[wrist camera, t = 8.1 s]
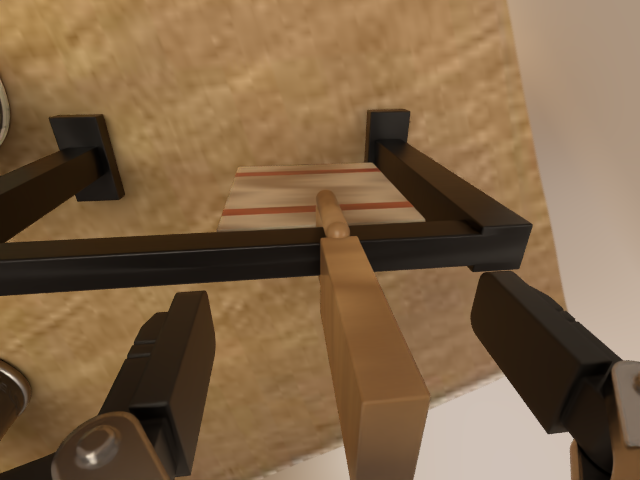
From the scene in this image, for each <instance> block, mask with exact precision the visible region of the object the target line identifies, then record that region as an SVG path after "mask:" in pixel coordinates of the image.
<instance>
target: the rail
mask: <svg viewBox="0 0 640 480" xmlns="http://www.w3.org/2000/svg"><path fill="white" fill-rule="evenodd" d="M409 119H410V111H408V110H405V109H390V110H368V111H367V126H366V143H365V161H364V163H373V164H374V165H375V166H376V167H377V168H378V169H379V170H380V171H381V172H382V173H383V174H384V176H385V177H386V178H387V179H388V180H389V181H390V182H391V183H392V184H393V185H394V186H395V187H396V188H397V190H398V191H399V192H400V193H401V194H402V195H403V196H404V197H405V198H406V199H407V200H408V201H409V202H410V203H411V204H412V205H413V206H414V208H415V209H416V210H417V211H418V212H419V213H420V214H421V215H422V216H423V217H424V219H425V221H426V222H409V223H390V224H370V225H350V226H349V229H350V236H357V237H358V239H359V241H360V243H361V246H362V248H363V250H364V252H365V254H366V256H367V259H368V261H369V263H370V265H371V267H372V269H373V272H380V271H395V270H411V269H426V268H442V267H458V266H467V267H468V268H469V269H470V270H471V271H472V272H483V271H498V270H513V269H519V268H520V265H521V262H522V258H523V255H524V252H525V249H526V246H527V242H528V239H529V236H530V233H531V229H532V226H533V225H532V224H531V223H530V222H528V221H527V220H525V219H524V218H522V217H521V216H519V215H518V214H516V213H514V212H513V211H511V210H510V209H508V208H507V207H505V206H504V205H502V204H500V203H499V202H497V201H496V200H494V199H493V198H491V197H490V196H488V195H487V194H485V193H483V192H482V191H480V190H479V189H477V188H476V187H474V186H473V185H471V184H470V183H468V182H466V181H465V180H463V179H462V178H460V177H459V176H457V175H456V174H454V173H452V172H451V171H449V170H448V169H446V168H445V167H443V166H442V165H440V164H439V163H437V162H435V161H434V160H432V159H431V158H429V157H428V156H426V155H425V154H423V153H422V152H420V151H418V150H417V149H415V148H414V147H412V146H411V145H409V144H408V143H407V137H408V128H409ZM49 121H50V123H51V126H52V129H53V132H54V135H55V138H56V141H57V144H58V147H59V150H60V151H58V152H56V153H53V154H51V155H49V156H46V157H44V158H42V159H39V160H37V161H35V162H32V163H30V164H28V165H25V166H23V167H21V168H18V169H16V170H14V171H12V172H9V173H7V174H5V175H2V176H0V296H7V295H23V294H38V293H54V292H69V291H85V290H100V289H116V288H131V287H147V286H162V285H178V284H193V283H209V282H224V281H240V280H256V279H271V278H287V277H302V276H318V275H320V240H321V238H326V235H325V232H324V228H323V227H310V228H291V229H271V230H251V231H231V232H211V233H191V234H172V235H152V236H132V237H112V238H92V239H73V240H53V241H33V242H13V243H5V242H6V241H8V240H9V239H11V238H12V237H14V236H15V235H17V234H18V233H19V232H21V231H22V230H24V229H25V228H27V227H28V226H30V225H31V224H33V223H34V222H36V221H37V220H39V219H40V218H41V217H43V216H44V215H46V214H47V213H49V212H50V211H52V210H53V209H55V208H56V207H58V206H59V205H61V204H62V203H63V202H65V201H66V200H68V199H69V198H71V197H72V196H74V195H75V196H76V199H77V201H78V202H80V201H105V200H120V199H121V198H122V197H123V196H124V195H125V193H124V189H123V186H122V182H121V178H120V175H119V171H118V167H117V164H116V160H115V156H114V153H113V149H112V146H111V142H110V138H109V135H108V131H107V127H106V124H105V120H104V116H103V115H102V114H95V115H57V116H53V117H49Z"/></svg>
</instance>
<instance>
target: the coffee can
mask: <svg viewBox="0 0 640 480" xmlns="http://www.w3.org/2000/svg"><path fill="white" fill-rule="evenodd" d="M9 122H10V107H9V103H8V99H7V95H6V92H5V89H4V86H3V84H2V81H1V79H0V145H1V144H2V142H3V141H4V139H5V137H6V135H7V132H8V128H9Z"/></svg>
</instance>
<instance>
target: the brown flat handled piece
mask: <svg viewBox="0 0 640 480" xmlns="http://www.w3.org/2000/svg"><path fill="white" fill-rule="evenodd" d="M409 222H425V219H424V217H423V216H422V215H421V214H420V213H419V212H418V211H417V210H416V209H415V208H414V206H413V205H412V204H411V203H410V202H409V201H408V200H407V199H406V198H405V197H404V196H403V195H402V194H401V193H400V192H399V191H398V190H397V188H396V187H395V186H394V185H393V184H392V183H391V182H390V181H389V180H388V179H387V178H386V177H385V176H384V174H383V173H382V172H381V171H380V170H379V169H378V168H377V167H376V166H375V165H374V164H373V163H344V164H313V165H283V166H252V167H238V169H237V172H236V175H235V178H234V181H233V184H232V187H231V190H230V193H229V196H228V199H227V202H226V204H225V207H224V210H223V213H222V216H221V219H220V222H219V225H218V228H217V232H231V231H251V230H271V229H291V228H310V227H323V228H324V232H325V235H326V238H321V240H320V275H318V276H319V281H320V313H321V318H322V324H323V330H324V335H325V341H326V346H327V352H328V358H329V363H330V369H331V375H332V380H333V386H334V391H335V397H336V403H337V408H338V414H339V420H340V425H341V431H342V436H343V442H344V448H345V453H346V459H347V464H348V470H349V476H350V480H413V478H414V474H415V469H416V464H417V460H418V455H419V450H420V446H421V441H422V435H423V431H424V427H425V422H426V418H427V413H428V408H429V404H430V399H431V396H430V393H429V391H428V389H427V387H426V385H425V382H424V380H423V378H422V376H421V374H420V372H419V369H418V367H417V365H416V363H415V361H414V359H413V356H412V354H411V352H410V350H409V348H408V345H407V343H406V341H405V339H404V337H403V335H402V332H401V330H400V328H399V326H398V324H397V322H396V319H395V317H394V315H393V313H392V311H391V309H390V306H389V304H388V302H387V300H386V298H385V295H384V293H383V291H382V289H381V287H380V285H379V282H378V280H377V278H376V276H375V274H374V272H373V269H372V267H371V265H370V263H369V261H368V259H367V256H366V254H365V252H364V250H363V248H362V246H361V243H360V241H359V239H358V237H357V236H350V229H349V226H350V225H370V224H390V223H409Z"/></svg>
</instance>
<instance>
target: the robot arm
mask: <svg viewBox="0 0 640 480" xmlns="http://www.w3.org/2000/svg"><path fill="white" fill-rule="evenodd" d="M471 325H472V328H473V331H474V333H475V334H476V336H477V337H478V339H479V340H480V341H481V343H482V344H483V345H484V347H485V348H486V350H487V351H488V352H489V354H490V355H491V357H492V358H493V359H494V361H495V362H496V363H497V365H498V366H499V368H500V369H501V370H502V372H503V373H504V374H505V376H506V377H507V379H508V380H509V381H510V383H511V384H512V385H513V387H514V388H515V389H516V391H517V392H518V394H519V395H520V396H521V398H522V399H523V401H524V402H525V403H526V405H527V406H528V407H529V409H530V410H531V412H532V413H533V414H534V416H535V417H536V418H537V420H538V421H539V423H540V424H541V425H542V427H543V428H544V429H545V431H546V432H547V434H554V433H562V432H569V433H570V434H571V435H572V437H573V438H574V439H573V441H572V443H571V446H570V464H571V480H640V362H637V361H629V360H628V361H627V360H626V361H623V360H622V359H621V358H620V357H618V356H617V355H616V354H615V353H614V352H613V351H611V350H610V349H609V348H608V347H607V346H606V345H605V344H604V343H602V342H601V341H600V340H599V339H598V338H597V337H595V336H594V335H593V334H592V333H591V332H590V331H589V330H587V329H586V328H585V327H584V326H583V325H582V324H580V323H579V322H576V321H575V318H573V317H572V316H571V315H570V314H569V313H568V312H567V311H563V308H562V307H561V306H560V305H559V304H557V303H556V302H555V301H554V300H553V299H552V298H551V297H549V296H548V295H546V294H544V293H542V292H540V291H539V290H537V289H535V288H533V287H531V286H529V285H528V284H526V283H525V282H524V281H523V280H522V279H521V278H520V277H519V276H518V275H516V274H515V273H514V272H512V271H496V272H485V273H483V274H482V275H481V276H480V279H479V282H478V286H477V290H476V294H475V298H474V302H473V306H472V310H471ZM214 356H215V332H214V326H213V321H212V315H211V310H210V305H209V299H208V295H207V292H206V291H192V292H178V293H176V294H175V296H174V299H173V301H172V304H171V306H170V308H169V311H168V312H159V313H156V314H154V315H153V316H152V317H151V318H150V319H149V320H148V321H147V322H146V323H145V324H144V325H143V326H142V327H141V329H140V331H139V333H138V335H137V337H136V339H135V341H134V345H132V347H131V349H130V351H129V353H128V355H127V359H125V361H124V363H123V365H122V367H121V369H120V371H119V373H118V375H117V377H116V379H115V381H114V383H113V385H112V387H111V389H110V392H109V394H108V396H107V398H106V400H105V402H104V404H103V406H102V408H101V410H100V412H99V414H98V415H97V416H95V417H93V418H91V419H89V420H88V421H86V422H84V423H83V424H81V425H80V426H79V427H77V428H76V429H75V430H73V431H72V432H71V433H70V434H69V435H68V436H67V437H66V438H65V440H64V441H63V442H62V443H61V445H60V446H59V448H58V449H57V451H56V452H55V453H52V454H50V455H48V456H45V457H43V458H40V459H38V460H35V461H32V462H30V463H27V464H24V465H22V466H19V467H16V468H14V469H11V470H8V471H6V472H3V473H0V480H174V478H175V477H180V476H189V475H191V471H192V466H193V461H194V456H195V451H196V446H197V441H198V436H199V431H200V426H201V421H202V416H203V411H204V406H205V401H206V396H207V391H208V386H209V381H210V376H211V371H212V366H213V361H214ZM30 399H31V388H30V385H29V383H28V382H27V380H26V379H25V377H24V376H23V375H22V374H21V373H20V372H19V371H17V370H16V369H15V368H14V367H12V366H10V365H9V364H7V363H5V362H3V361H1V360H0V441H1V439H2V438H3V437H4V435H5V434H6V432H7V431H8V430H9V428H10V427H11V425H12V424H13V422H14V421H15V420H16V418H17V417H18V416H19V415H20V414H21V413H22V412H23V411H24V409H25V408H26V406H27V405H28V404H29V402H30Z"/></svg>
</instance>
